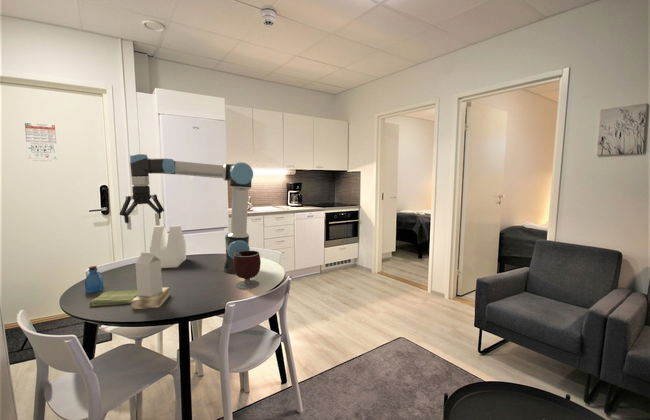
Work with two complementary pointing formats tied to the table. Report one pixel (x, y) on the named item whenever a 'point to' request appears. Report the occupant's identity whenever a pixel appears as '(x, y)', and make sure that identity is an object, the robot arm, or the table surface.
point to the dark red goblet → (246, 268)
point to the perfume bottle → (93, 280)
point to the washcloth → (114, 298)
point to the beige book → (150, 300)
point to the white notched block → (168, 246)
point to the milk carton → (148, 275)
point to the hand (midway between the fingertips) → (144, 227)
